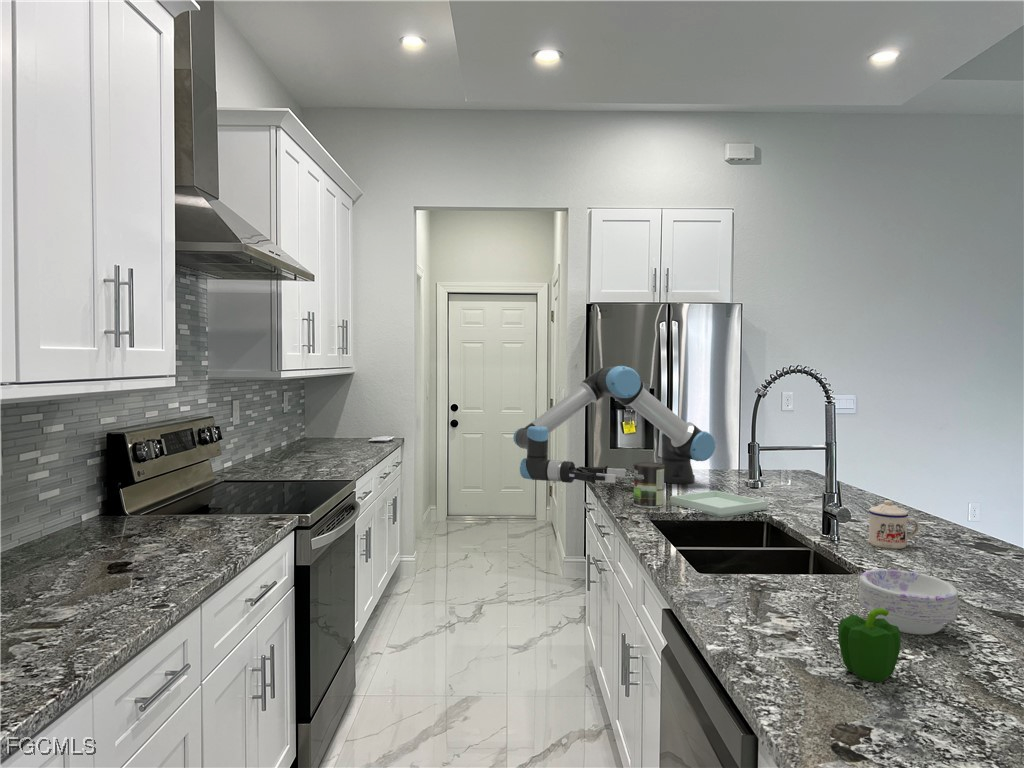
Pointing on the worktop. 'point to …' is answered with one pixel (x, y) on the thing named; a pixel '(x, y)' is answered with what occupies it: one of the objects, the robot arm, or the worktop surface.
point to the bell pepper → (869, 645)
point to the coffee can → (648, 485)
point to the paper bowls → (909, 599)
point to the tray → (719, 503)
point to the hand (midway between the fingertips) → (620, 476)
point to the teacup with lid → (889, 526)
